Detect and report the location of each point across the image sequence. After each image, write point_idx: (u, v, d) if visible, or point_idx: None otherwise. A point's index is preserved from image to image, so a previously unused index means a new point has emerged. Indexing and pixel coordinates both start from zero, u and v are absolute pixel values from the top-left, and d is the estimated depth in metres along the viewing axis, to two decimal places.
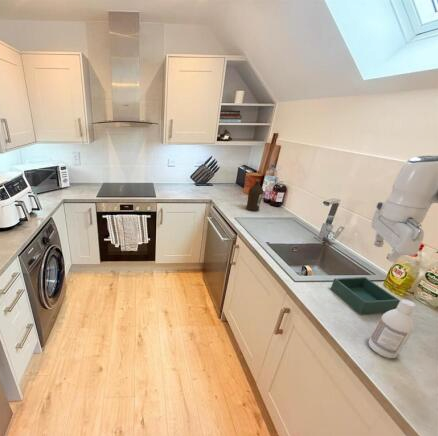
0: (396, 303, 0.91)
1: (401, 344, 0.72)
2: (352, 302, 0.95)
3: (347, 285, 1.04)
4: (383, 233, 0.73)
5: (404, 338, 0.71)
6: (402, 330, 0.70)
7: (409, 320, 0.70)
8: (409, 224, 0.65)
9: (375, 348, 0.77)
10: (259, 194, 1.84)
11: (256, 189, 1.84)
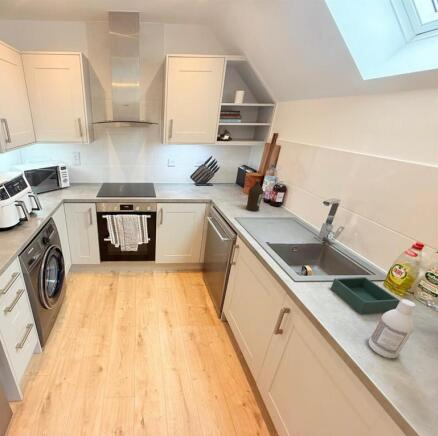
0: (396, 303, 0.91)
1: (401, 344, 0.72)
2: (352, 302, 0.95)
3: (347, 285, 1.04)
4: None
5: (404, 338, 0.71)
6: (402, 330, 0.70)
7: (409, 320, 0.70)
8: None
9: (375, 348, 0.77)
10: (259, 194, 1.84)
11: (256, 189, 1.84)
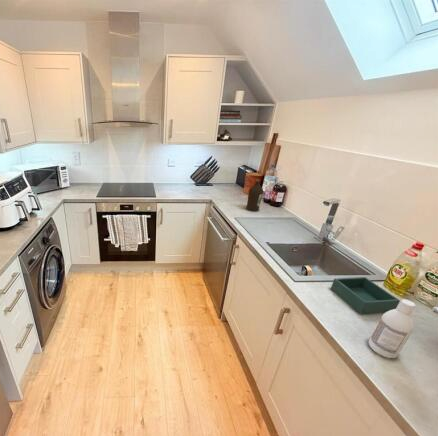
0: (396, 303, 0.91)
1: (401, 344, 0.72)
2: (352, 302, 0.95)
3: (347, 285, 1.04)
4: None
5: (404, 338, 0.71)
6: (402, 330, 0.70)
7: (409, 320, 0.70)
8: None
9: (375, 348, 0.77)
10: (259, 194, 1.84)
11: (256, 189, 1.84)
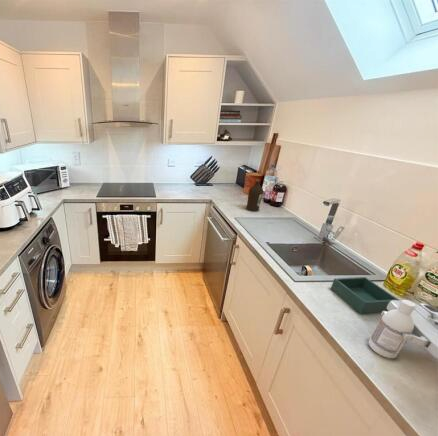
0: None
1: (401, 344, 0.72)
2: (352, 302, 0.95)
3: (347, 285, 1.04)
4: (416, 321, 0.72)
5: (404, 339, 0.71)
6: (402, 330, 0.70)
7: (409, 320, 0.70)
8: None
9: (375, 348, 0.77)
10: (259, 194, 1.84)
11: (256, 189, 1.84)
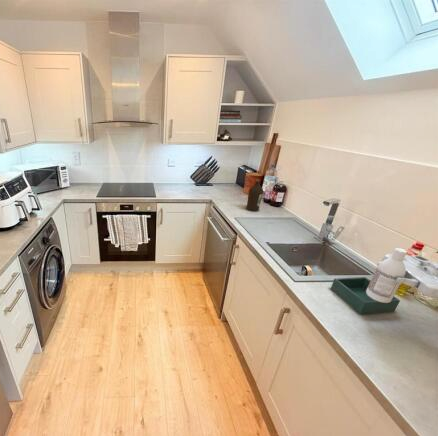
0: (396, 303, 0.91)
1: (395, 288, 0.81)
2: (352, 302, 0.95)
3: (347, 285, 1.04)
4: (408, 268, 0.81)
5: (397, 283, 0.80)
6: (395, 274, 0.79)
7: (401, 265, 0.78)
8: None
9: (372, 295, 0.85)
10: (259, 194, 1.84)
11: (256, 189, 1.84)
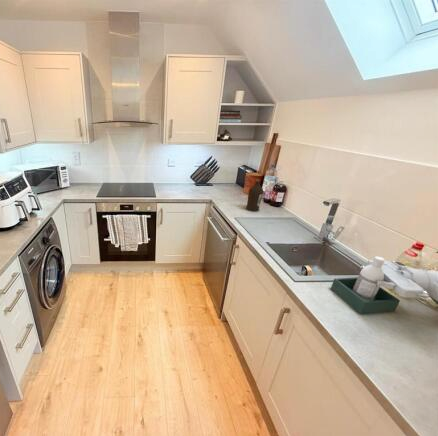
0: (396, 303, 0.91)
1: (374, 291, 0.93)
2: (352, 302, 0.95)
3: (347, 285, 1.04)
4: (387, 272, 0.93)
5: (377, 286, 0.92)
6: (375, 279, 0.91)
7: (380, 271, 0.91)
8: None
9: None
10: (259, 194, 1.84)
11: (256, 189, 1.84)
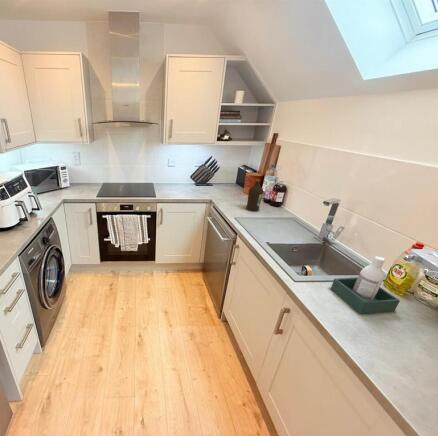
0: (396, 303, 0.91)
1: (374, 291, 0.93)
2: (352, 302, 0.95)
3: (347, 285, 1.04)
4: (434, 261, 0.88)
5: (377, 286, 0.92)
6: (375, 279, 0.91)
7: (380, 271, 0.91)
8: None
9: None
10: (259, 194, 1.84)
11: (256, 189, 1.84)
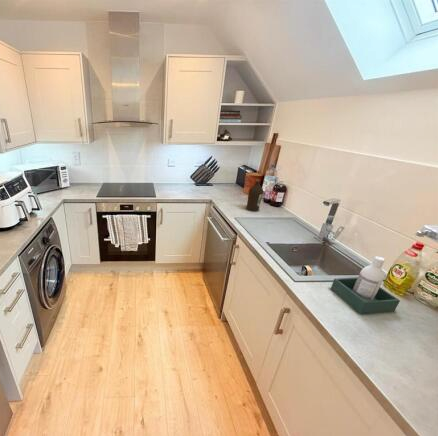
0: (396, 303, 0.91)
1: (374, 291, 0.93)
2: (352, 302, 0.95)
3: (347, 285, 1.04)
4: None
5: (377, 287, 0.92)
6: (375, 279, 0.91)
7: (380, 271, 0.91)
8: None
9: None
10: (259, 194, 1.84)
11: (256, 189, 1.84)
